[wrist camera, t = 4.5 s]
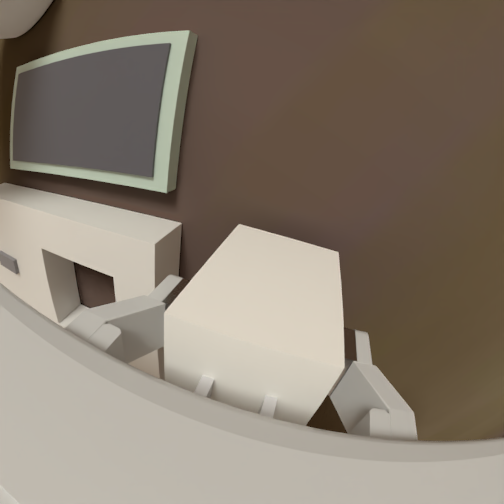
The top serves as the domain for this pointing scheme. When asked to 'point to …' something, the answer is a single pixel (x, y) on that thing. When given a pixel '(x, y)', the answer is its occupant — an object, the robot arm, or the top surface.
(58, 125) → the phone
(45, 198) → the outlet plate
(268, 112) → the top surface
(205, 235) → the top surface
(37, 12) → the pill bottle
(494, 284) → the top surface
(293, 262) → the charger
